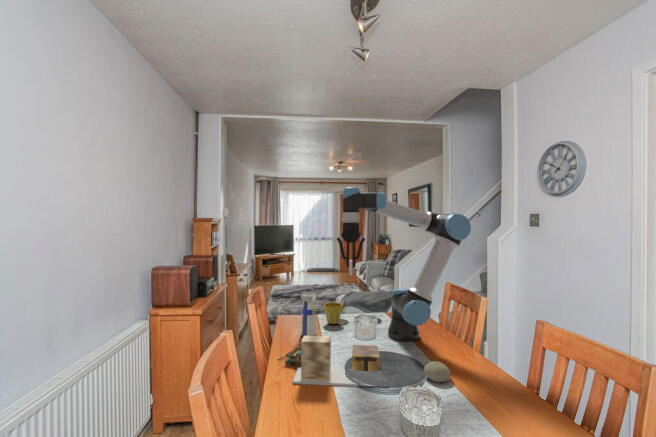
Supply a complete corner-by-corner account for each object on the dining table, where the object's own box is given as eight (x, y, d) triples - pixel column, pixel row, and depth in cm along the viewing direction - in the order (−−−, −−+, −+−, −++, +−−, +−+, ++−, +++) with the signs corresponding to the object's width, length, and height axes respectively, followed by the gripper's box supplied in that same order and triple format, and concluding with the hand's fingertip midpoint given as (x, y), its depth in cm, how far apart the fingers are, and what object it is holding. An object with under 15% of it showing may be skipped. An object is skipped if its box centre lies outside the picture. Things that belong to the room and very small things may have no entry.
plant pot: (336, 326, 178) (336, 307, 178) (320, 323, 183) (320, 305, 183) (345, 321, 187) (345, 303, 187) (329, 318, 192) (330, 301, 192)
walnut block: (379, 373, 121) (377, 361, 134) (379, 356, 122) (377, 345, 135) (352, 372, 122) (352, 360, 135) (352, 355, 122) (352, 344, 135)
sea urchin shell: (449, 366, 123) (451, 358, 117) (449, 389, 118) (451, 382, 112) (424, 362, 126) (424, 354, 120) (423, 384, 121) (423, 377, 115)
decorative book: (289, 352, 143) (290, 341, 143) (326, 360, 135) (326, 348, 135) (271, 364, 131) (271, 351, 131) (309, 374, 123) (309, 360, 123)
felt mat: (385, 373, 123) (385, 370, 123) (389, 387, 112) (389, 385, 112) (298, 369, 126) (298, 367, 126) (292, 383, 115) (292, 381, 115)
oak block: (330, 371, 123) (330, 336, 123) (329, 379, 117) (329, 342, 117) (303, 370, 123) (303, 335, 123) (301, 378, 117) (301, 341, 117)
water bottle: (320, 332, 168) (321, 283, 168) (310, 337, 160) (311, 285, 161) (307, 329, 172) (307, 281, 172) (297, 334, 165) (297, 284, 165)
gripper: (365, 222, 152) (365, 273, 152) (336, 222, 153) (336, 273, 153) (365, 222, 144) (365, 276, 144) (335, 222, 146) (335, 275, 145)
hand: (350, 274), depth 149 cm, fingers closed
